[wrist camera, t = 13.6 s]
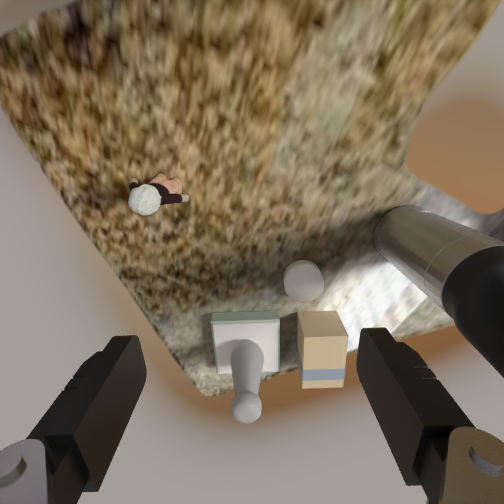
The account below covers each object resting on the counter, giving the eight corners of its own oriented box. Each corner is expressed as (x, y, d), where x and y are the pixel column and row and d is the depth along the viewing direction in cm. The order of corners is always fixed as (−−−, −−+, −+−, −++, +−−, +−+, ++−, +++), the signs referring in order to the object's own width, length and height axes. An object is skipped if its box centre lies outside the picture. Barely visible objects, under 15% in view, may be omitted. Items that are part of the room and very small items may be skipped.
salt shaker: (259, 363, 51) (262, 432, 39) (229, 358, 50) (222, 428, 38) (266, 338, 48) (271, 404, 36) (234, 333, 48) (228, 398, 36)
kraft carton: (336, 310, 50) (348, 336, 43) (332, 357, 54) (343, 387, 48) (297, 311, 50) (304, 337, 43) (296, 358, 54) (302, 388, 48)
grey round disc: (276, 284, 48) (278, 295, 45) (292, 254, 45) (295, 264, 42) (309, 295, 49) (312, 306, 46) (327, 267, 46) (331, 276, 43)
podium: (278, 310, 50) (279, 320, 47) (278, 361, 54) (280, 373, 52) (212, 312, 50) (210, 323, 47) (218, 363, 55) (216, 375, 52)
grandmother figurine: (146, 196, 42) (105, 218, 30) (144, 170, 40) (101, 183, 29) (196, 200, 42) (175, 224, 30) (197, 175, 41) (175, 189, 29)
